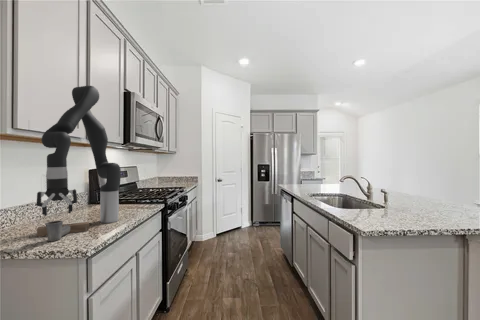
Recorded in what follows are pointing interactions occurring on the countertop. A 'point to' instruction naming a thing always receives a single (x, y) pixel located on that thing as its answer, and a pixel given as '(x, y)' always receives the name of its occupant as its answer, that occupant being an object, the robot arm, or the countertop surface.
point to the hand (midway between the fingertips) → (57, 214)
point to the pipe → (56, 230)
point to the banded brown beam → (74, 227)
